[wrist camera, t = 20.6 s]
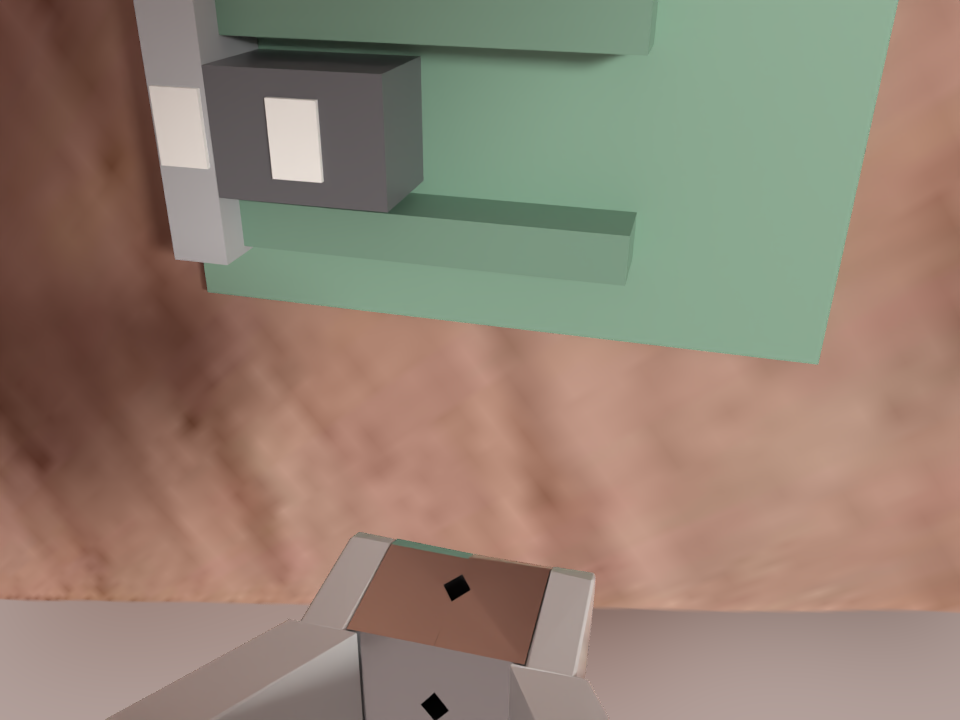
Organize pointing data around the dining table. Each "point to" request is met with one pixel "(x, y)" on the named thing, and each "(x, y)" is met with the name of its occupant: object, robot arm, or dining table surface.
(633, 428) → the dining table surface
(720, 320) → the board
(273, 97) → the labelled grey storage bin
